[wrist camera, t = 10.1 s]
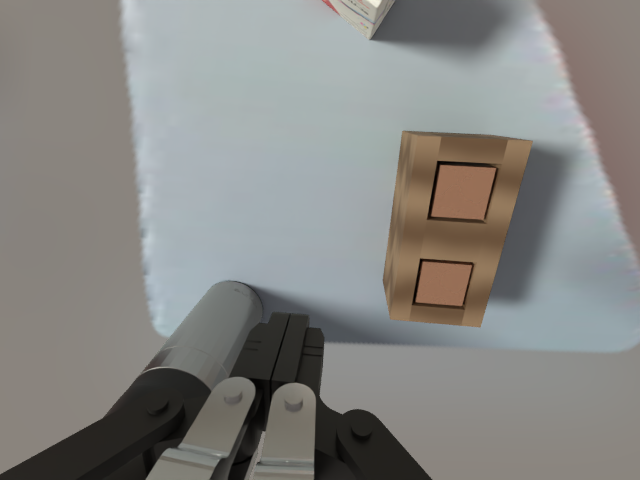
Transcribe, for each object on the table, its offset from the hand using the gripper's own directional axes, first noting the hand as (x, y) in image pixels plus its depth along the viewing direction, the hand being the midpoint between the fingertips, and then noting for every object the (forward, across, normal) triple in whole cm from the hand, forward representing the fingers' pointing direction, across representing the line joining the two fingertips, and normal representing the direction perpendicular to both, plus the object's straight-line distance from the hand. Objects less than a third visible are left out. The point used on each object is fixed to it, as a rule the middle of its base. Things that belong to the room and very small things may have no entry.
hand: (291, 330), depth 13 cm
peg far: (+29, -13, +8) cm, 33 cm away
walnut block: (+29, -13, +3) cm, 32 cm away
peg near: (+29, -13, -2) cm, 32 cm away
